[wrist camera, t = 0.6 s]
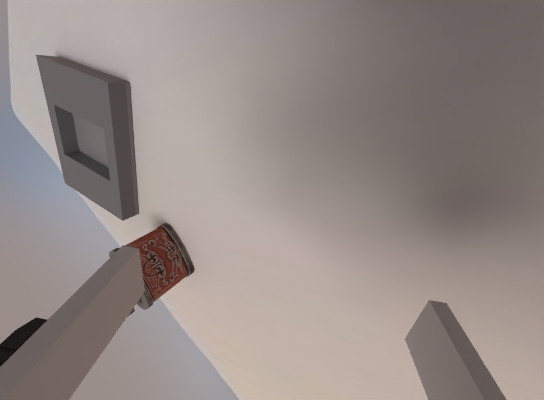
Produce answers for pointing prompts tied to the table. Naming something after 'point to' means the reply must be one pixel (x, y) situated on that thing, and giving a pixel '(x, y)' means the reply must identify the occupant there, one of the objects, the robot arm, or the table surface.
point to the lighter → (160, 263)
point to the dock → (92, 133)
